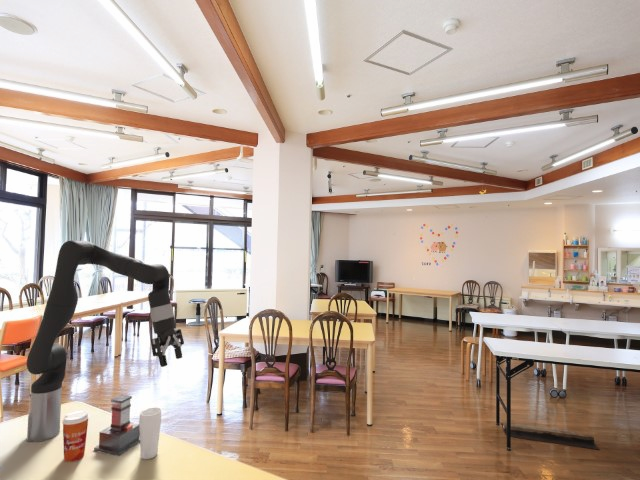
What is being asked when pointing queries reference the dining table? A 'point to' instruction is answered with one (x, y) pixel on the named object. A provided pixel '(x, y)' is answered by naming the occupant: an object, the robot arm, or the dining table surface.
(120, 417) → the column
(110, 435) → the sleeve
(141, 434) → the drinking glass
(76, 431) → the paper cup
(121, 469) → the dining table surface
